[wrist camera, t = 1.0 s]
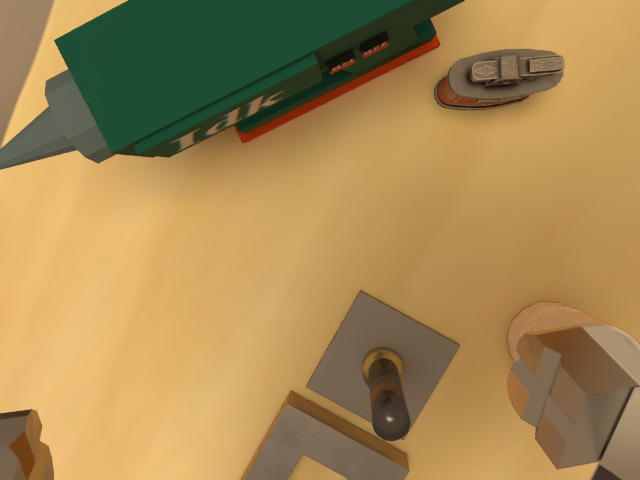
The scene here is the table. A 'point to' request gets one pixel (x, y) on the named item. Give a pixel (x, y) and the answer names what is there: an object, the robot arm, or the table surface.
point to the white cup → (554, 323)
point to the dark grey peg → (386, 393)
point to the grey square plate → (373, 332)
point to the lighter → (498, 78)
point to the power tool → (213, 70)
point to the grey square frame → (323, 446)
